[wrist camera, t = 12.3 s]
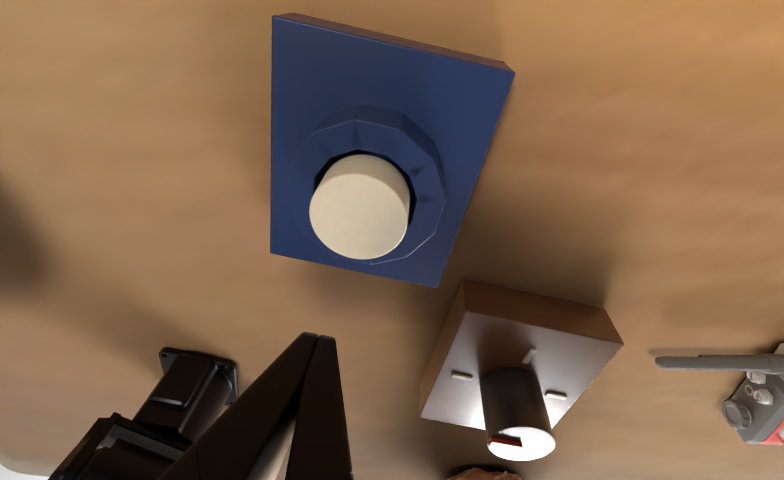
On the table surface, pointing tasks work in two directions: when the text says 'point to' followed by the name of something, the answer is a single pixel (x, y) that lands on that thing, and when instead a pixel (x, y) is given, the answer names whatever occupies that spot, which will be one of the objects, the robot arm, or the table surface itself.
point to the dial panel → (514, 350)
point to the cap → (361, 207)
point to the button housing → (378, 134)
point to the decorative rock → (483, 475)
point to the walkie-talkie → (747, 392)
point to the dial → (515, 415)
